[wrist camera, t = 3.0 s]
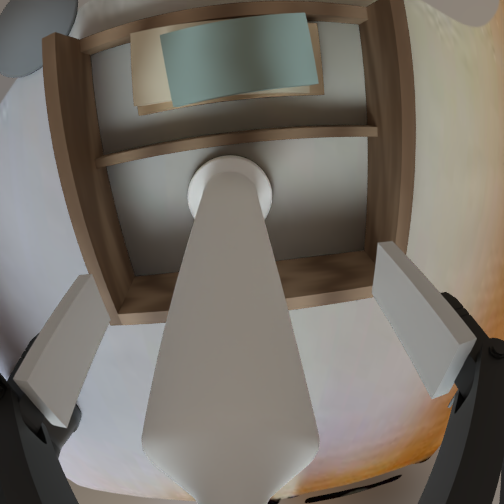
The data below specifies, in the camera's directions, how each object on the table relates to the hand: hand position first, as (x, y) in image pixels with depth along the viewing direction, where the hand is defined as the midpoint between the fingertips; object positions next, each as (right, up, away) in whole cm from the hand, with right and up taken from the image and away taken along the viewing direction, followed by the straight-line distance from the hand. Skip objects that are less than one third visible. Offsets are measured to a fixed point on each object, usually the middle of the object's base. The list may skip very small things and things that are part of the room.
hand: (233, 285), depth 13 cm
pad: (-20, +23, +2) cm, 30 cm away
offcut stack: (-1, +16, +7) cm, 18 cm away
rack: (0, +10, +10) cm, 14 cm away
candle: (-1, +6, +12) cm, 14 cm away
